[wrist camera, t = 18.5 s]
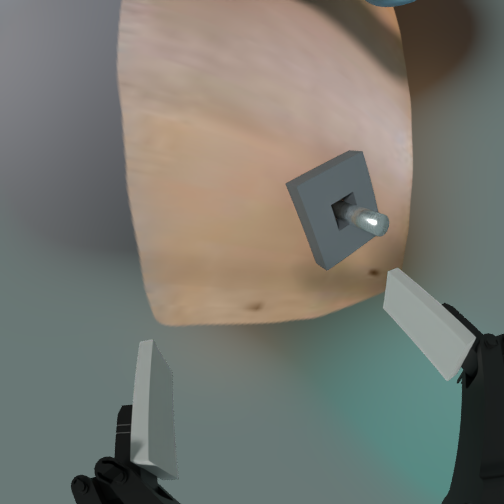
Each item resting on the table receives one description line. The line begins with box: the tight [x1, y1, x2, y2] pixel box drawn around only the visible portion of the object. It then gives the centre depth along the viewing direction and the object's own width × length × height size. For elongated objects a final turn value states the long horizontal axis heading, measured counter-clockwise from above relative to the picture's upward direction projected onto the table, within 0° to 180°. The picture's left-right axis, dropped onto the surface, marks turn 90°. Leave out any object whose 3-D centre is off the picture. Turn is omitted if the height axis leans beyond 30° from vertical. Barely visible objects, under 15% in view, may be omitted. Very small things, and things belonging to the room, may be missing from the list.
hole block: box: [286, 150, 378, 270], centre depth 44 cm, size 16×14×4 cm
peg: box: [331, 200, 389, 236], centre depth 40 cm, size 3×3×12 cm
